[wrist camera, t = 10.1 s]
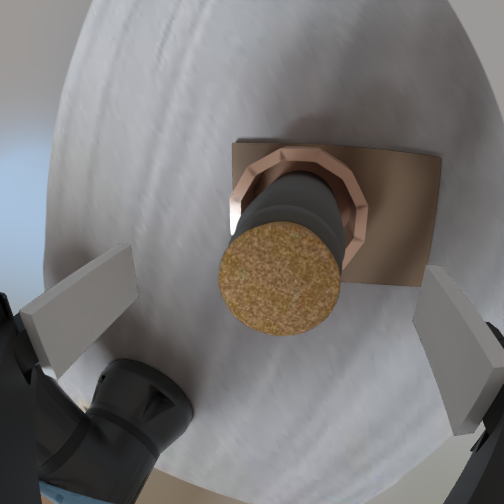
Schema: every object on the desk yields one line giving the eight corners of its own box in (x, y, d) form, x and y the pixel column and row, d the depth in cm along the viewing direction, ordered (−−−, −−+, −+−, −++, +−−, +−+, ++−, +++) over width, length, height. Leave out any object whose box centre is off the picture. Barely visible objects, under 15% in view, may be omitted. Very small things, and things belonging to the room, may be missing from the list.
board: (237, 268, 31) (234, 272, 30) (235, 142, 26) (231, 142, 25) (419, 282, 27) (422, 286, 26) (437, 156, 23) (441, 157, 22)
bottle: (293, 155, 24) (259, 175, 10) (350, 199, 24) (387, 276, 11) (252, 210, 27) (178, 292, 13) (306, 252, 27) (290, 369, 13)
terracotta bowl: (246, 252, 29) (231, 276, 24) (245, 145, 25) (228, 148, 21) (353, 260, 27) (358, 286, 22) (362, 150, 23) (371, 153, 19)
